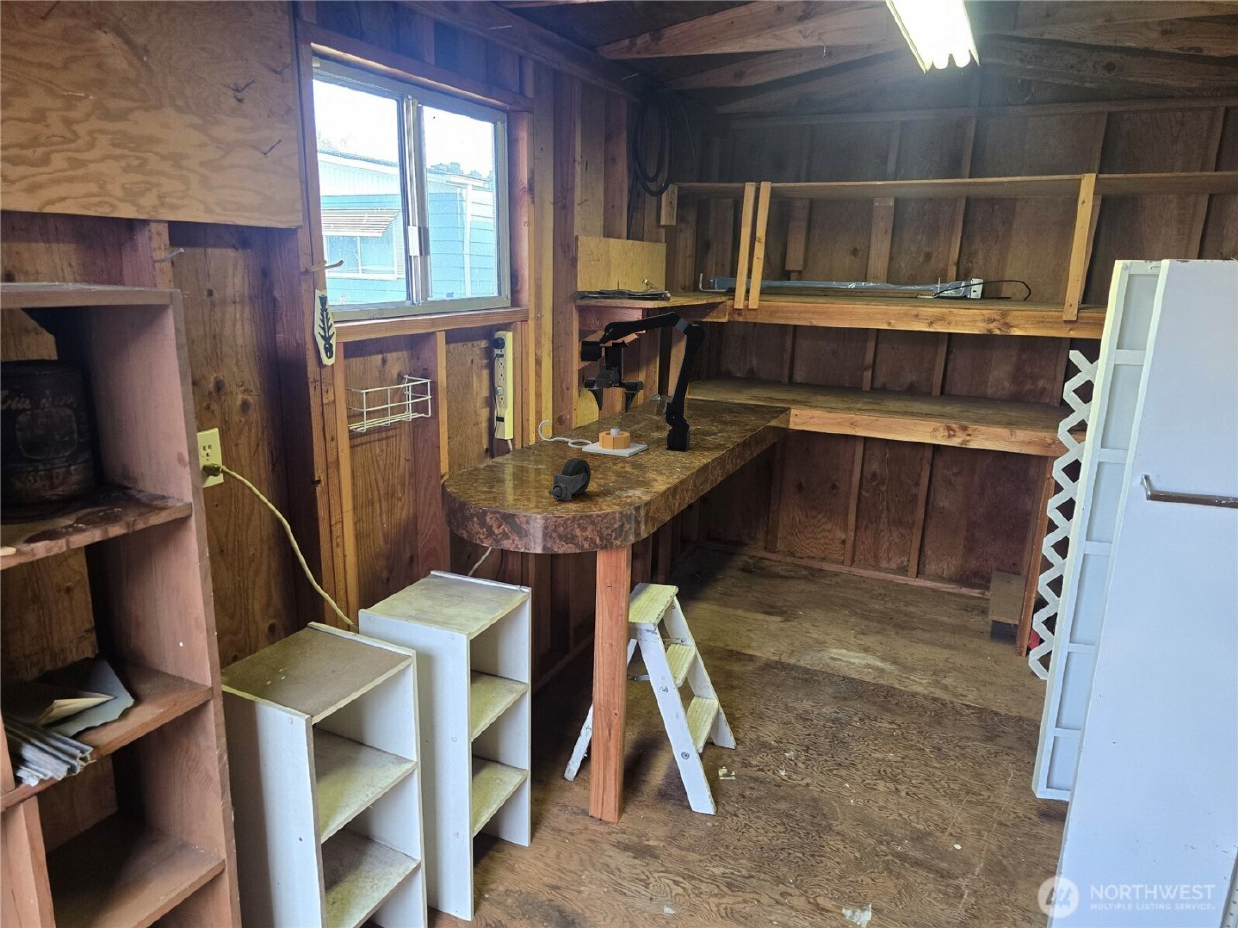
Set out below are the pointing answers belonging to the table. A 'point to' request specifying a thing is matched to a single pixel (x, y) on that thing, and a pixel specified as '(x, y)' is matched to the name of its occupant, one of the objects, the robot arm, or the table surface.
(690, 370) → the robot arm
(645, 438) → the table surface
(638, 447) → the post board
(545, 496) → the table surface
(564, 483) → the caster wheel
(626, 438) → the wooden bowl
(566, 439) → the hook
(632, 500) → the table surface
